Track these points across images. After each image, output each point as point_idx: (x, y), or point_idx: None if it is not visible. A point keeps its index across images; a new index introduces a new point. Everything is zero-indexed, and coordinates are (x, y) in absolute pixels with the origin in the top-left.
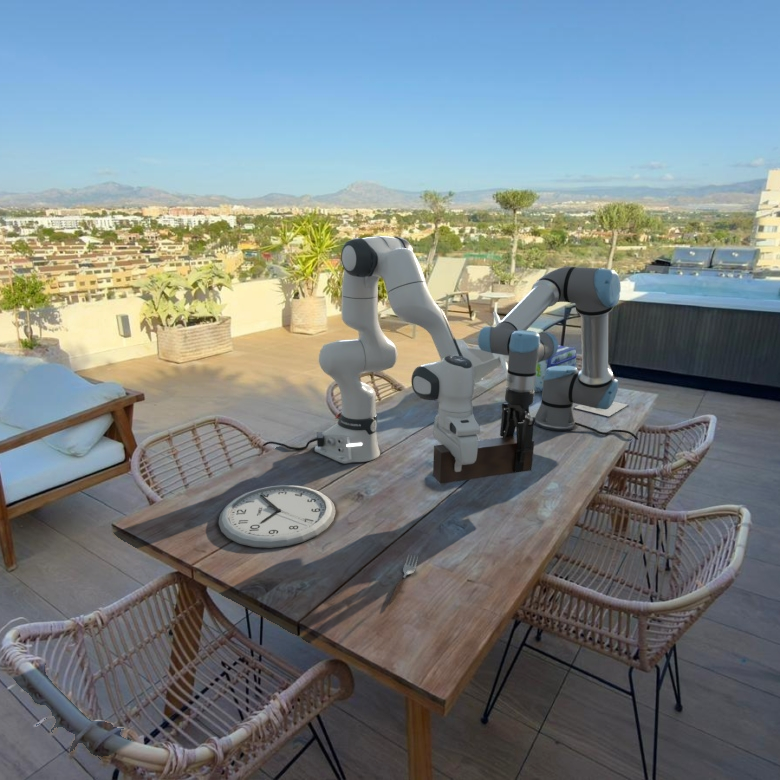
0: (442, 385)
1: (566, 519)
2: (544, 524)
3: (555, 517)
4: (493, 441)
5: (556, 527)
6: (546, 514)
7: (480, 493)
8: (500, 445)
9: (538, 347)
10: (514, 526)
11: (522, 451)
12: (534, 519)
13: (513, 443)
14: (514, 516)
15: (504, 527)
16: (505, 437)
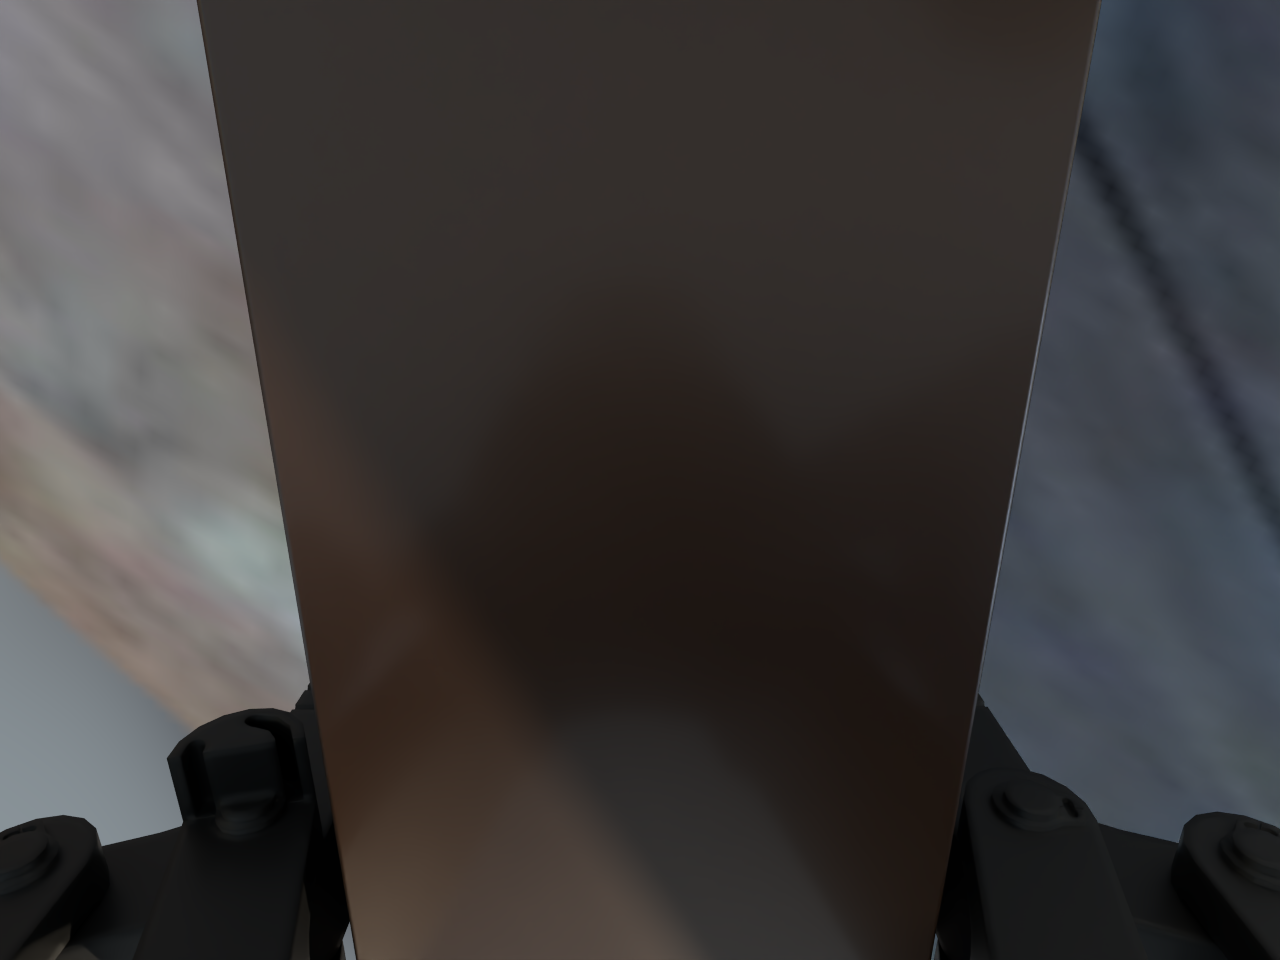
0: None
1: (132, 652)
2: (63, 445)
3: (170, 591)
4: (715, 249)
5: (11, 512)
6: (225, 550)
7: None
8: (261, 340)
9: None
10: (38, 147)
11: (41, 825)
12: (152, 407)
13: (342, 842)
14: (223, 252)
15: (21, 27)
16: (897, 852)
